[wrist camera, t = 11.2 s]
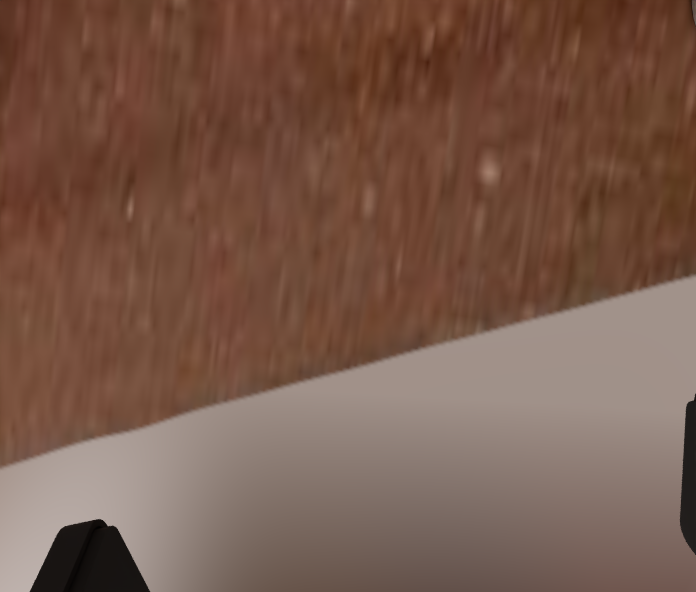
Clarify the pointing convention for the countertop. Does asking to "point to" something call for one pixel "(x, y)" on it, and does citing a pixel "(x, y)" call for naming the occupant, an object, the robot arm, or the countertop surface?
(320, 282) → the countertop surface
